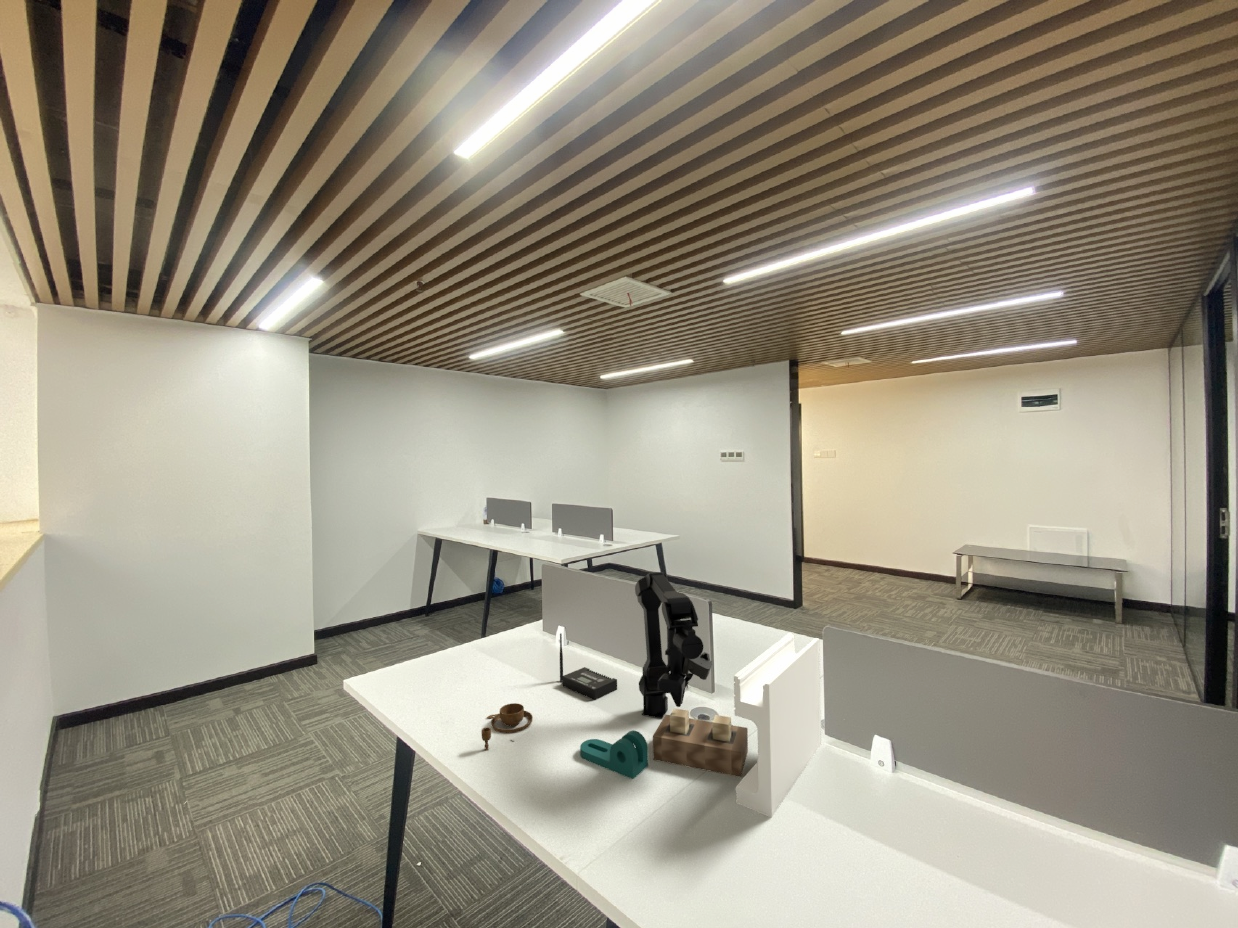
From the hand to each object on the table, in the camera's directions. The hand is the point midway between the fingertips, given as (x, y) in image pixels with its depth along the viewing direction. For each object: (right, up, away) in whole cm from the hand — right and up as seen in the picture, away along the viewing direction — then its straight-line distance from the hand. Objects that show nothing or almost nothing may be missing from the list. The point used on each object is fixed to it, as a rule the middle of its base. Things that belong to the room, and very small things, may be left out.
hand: (679, 705), depth 133 cm
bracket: (-18, -13, -4) cm, 22 cm away
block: (+24, -12, -9) cm, 28 cm away
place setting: (-50, -14, +13) cm, 53 cm away
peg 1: (0, -8, 0) cm, 8 cm away
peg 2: (+10, -8, -4) cm, 14 cm away
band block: (+5, -12, -2) cm, 13 cm away
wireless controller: (-27, -13, +41) cm, 51 cm away
